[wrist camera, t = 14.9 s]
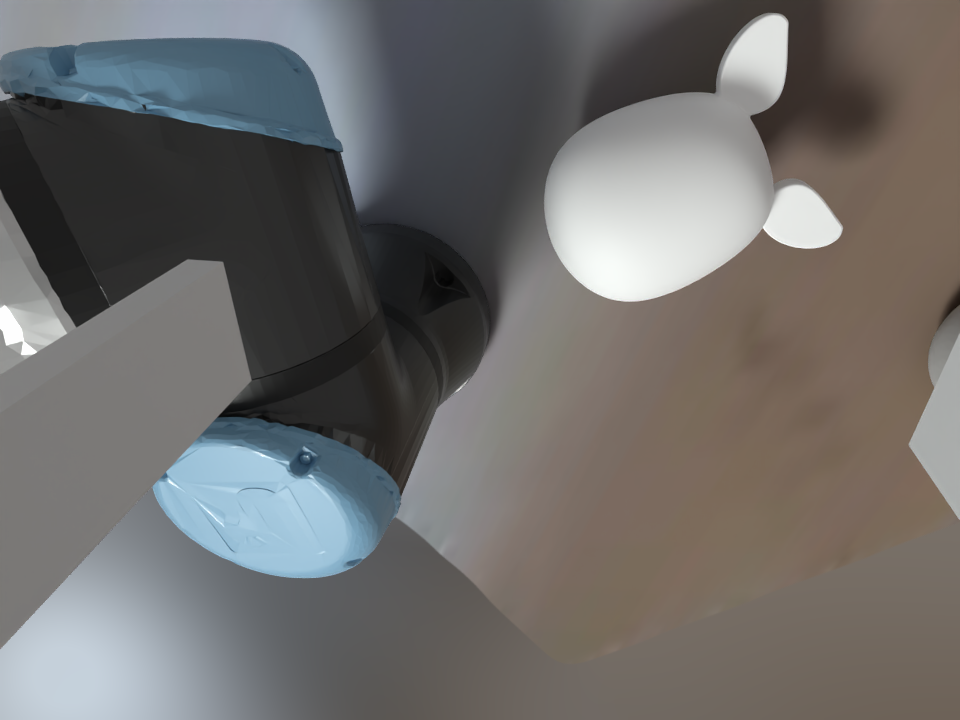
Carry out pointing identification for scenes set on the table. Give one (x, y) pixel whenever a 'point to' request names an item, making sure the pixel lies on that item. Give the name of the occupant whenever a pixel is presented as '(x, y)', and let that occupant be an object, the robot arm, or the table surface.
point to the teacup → (943, 344)
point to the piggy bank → (681, 181)
